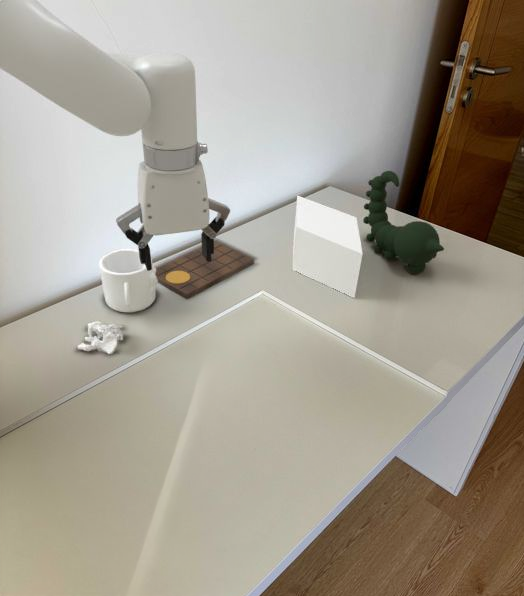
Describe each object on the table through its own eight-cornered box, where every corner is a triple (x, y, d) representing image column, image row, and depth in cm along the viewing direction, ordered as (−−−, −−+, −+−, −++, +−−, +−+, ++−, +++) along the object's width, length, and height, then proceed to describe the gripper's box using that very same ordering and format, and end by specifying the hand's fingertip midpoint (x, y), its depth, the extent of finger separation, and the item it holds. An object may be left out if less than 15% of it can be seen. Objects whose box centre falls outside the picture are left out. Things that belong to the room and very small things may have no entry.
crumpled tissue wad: (86, 313, 94) (123, 312, 94) (92, 333, 96) (128, 331, 96) (73, 341, 88) (113, 340, 87) (80, 361, 90) (119, 359, 90)
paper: (320, 231, 131) (324, 191, 124) (384, 292, 110) (394, 248, 104) (266, 240, 126) (268, 199, 120) (323, 305, 106) (329, 259, 99)
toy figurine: (350, 246, 129) (418, 290, 110) (358, 167, 118) (435, 201, 99) (381, 240, 132) (452, 281, 114) (392, 162, 121) (472, 194, 103)
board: (187, 299, 105) (186, 293, 104) (148, 276, 111) (147, 271, 110) (254, 263, 117) (254, 258, 116) (215, 245, 123) (215, 240, 122)
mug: (160, 320, 99) (156, 279, 94) (104, 324, 98) (96, 283, 92) (158, 286, 108) (154, 247, 103) (107, 289, 107) (100, 249, 101)
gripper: (221, 141, 79) (222, 244, 90) (104, 150, 74) (119, 258, 85) (237, 159, 74) (236, 265, 85) (112, 170, 69) (127, 282, 80)
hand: (177, 262), depth 85 cm, fingers open, 9 cm apart
